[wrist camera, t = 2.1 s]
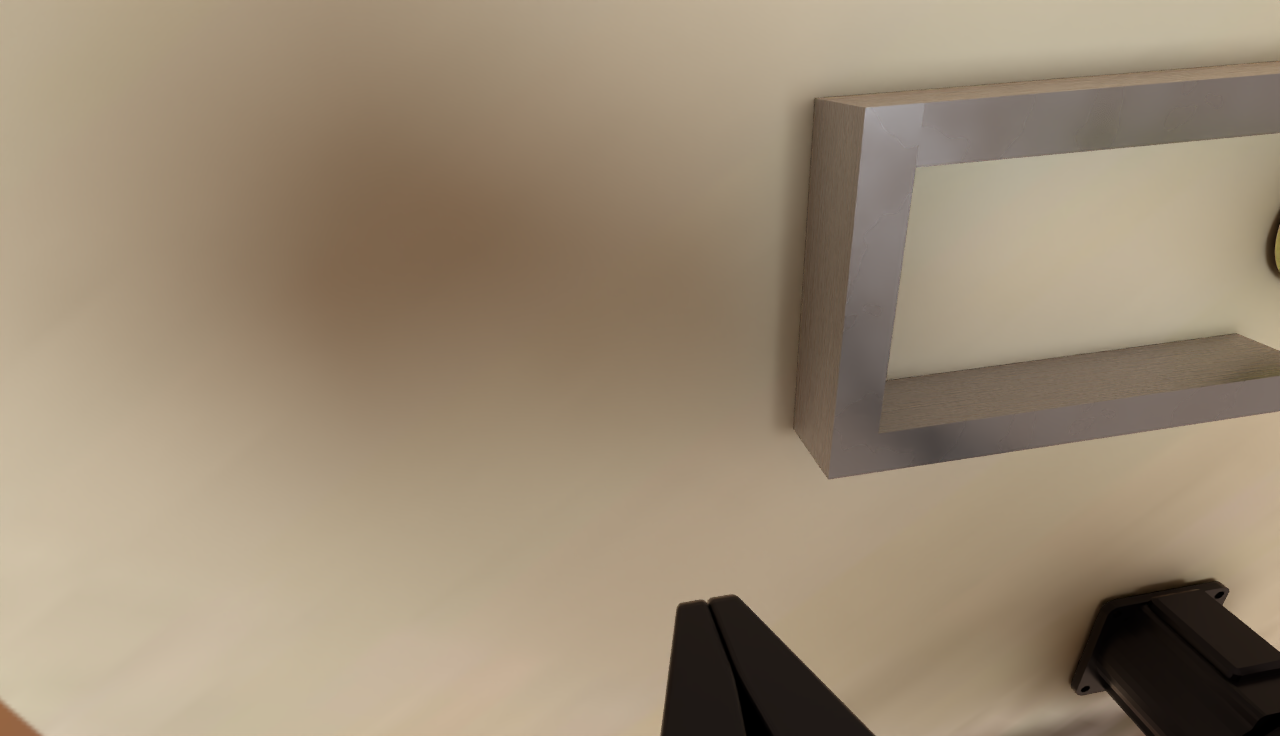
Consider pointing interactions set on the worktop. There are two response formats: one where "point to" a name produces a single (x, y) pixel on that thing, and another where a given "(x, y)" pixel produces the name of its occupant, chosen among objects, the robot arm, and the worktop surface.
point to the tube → (1277, 249)
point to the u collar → (1013, 393)
